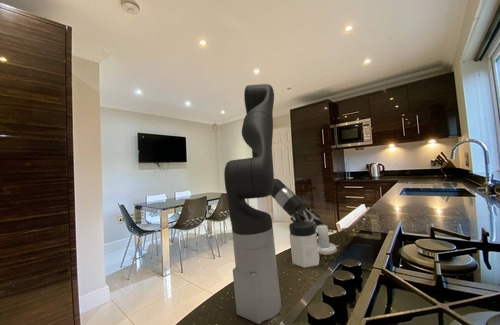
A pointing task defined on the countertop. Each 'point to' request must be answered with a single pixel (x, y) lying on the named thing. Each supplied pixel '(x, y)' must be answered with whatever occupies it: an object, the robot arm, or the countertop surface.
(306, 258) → the jar
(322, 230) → the lid
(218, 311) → the countertop surface
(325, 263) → the countertop surface
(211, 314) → the countertop surface
